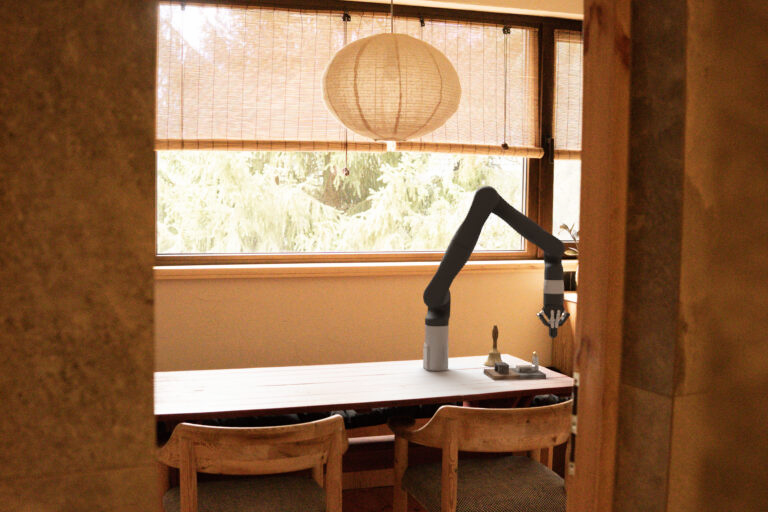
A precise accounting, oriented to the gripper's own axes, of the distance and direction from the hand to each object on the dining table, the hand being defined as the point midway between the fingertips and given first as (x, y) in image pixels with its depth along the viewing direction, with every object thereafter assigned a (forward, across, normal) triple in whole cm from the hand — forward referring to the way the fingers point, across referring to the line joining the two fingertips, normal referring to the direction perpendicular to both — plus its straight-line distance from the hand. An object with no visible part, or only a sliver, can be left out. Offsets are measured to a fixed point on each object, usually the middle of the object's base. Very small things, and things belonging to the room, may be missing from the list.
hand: (553, 337), depth 265 cm
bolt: (+12, -10, 0) cm, 16 cm away
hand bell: (+14, -16, +20) cm, 29 cm away
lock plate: (+14, -15, 0) cm, 21 cm away
